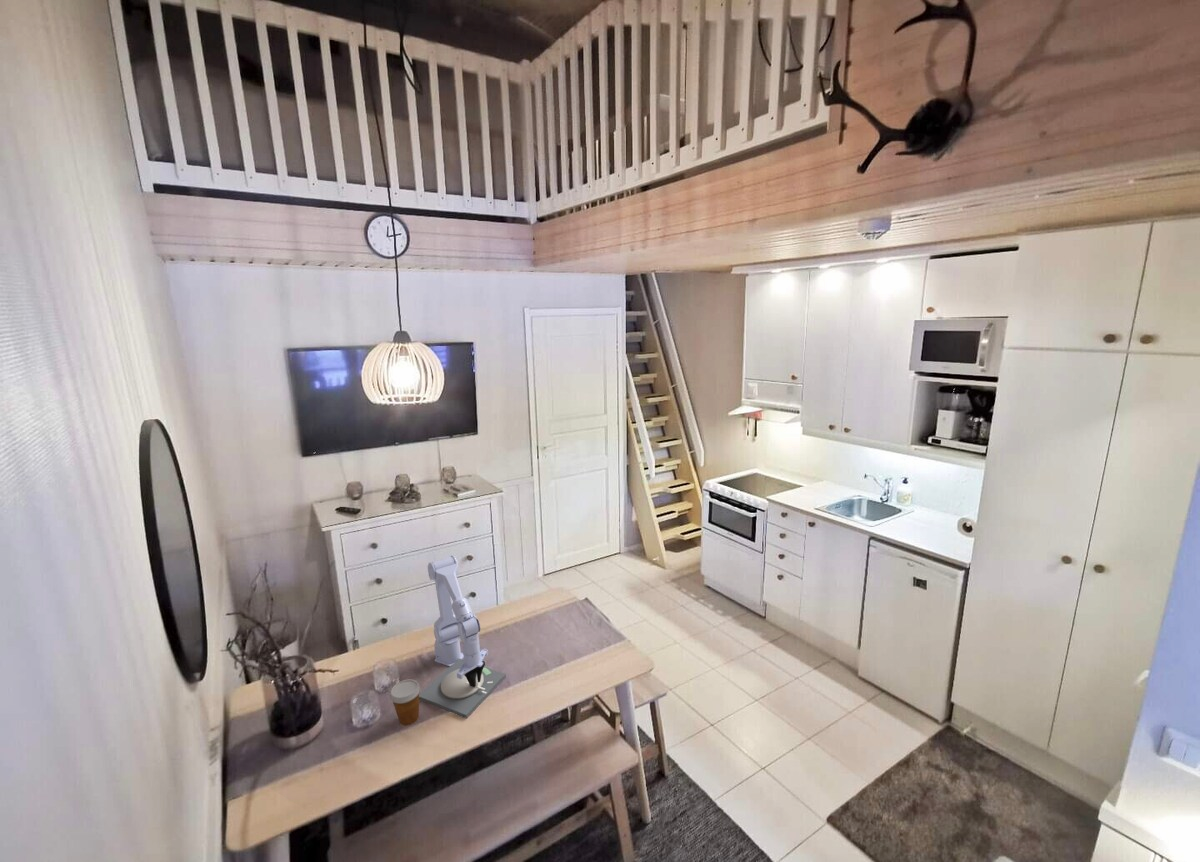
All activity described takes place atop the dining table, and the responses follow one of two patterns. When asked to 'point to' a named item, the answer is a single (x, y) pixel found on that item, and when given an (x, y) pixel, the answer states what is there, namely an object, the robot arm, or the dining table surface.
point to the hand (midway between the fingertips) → (475, 683)
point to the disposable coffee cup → (406, 701)
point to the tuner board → (462, 705)
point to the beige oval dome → (459, 686)
